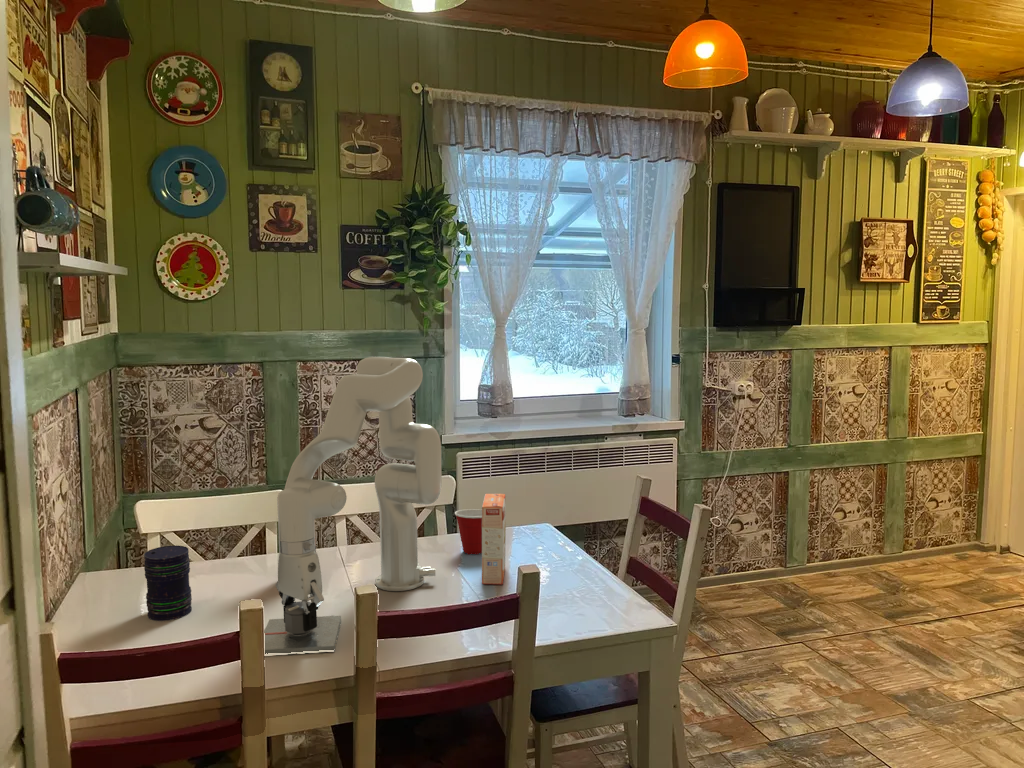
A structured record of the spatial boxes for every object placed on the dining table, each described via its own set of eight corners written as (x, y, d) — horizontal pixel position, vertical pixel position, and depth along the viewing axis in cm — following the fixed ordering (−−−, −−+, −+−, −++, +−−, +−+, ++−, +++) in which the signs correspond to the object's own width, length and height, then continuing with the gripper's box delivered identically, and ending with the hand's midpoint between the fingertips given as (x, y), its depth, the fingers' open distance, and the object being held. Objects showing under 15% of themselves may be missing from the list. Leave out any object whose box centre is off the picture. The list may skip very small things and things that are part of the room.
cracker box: (504, 585, 205) (503, 506, 203) (481, 585, 205) (480, 506, 203) (506, 566, 219) (506, 492, 217) (484, 566, 219) (484, 492, 217)
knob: (303, 619, 178) (302, 597, 177) (320, 626, 174) (319, 604, 174) (280, 628, 173) (279, 606, 173) (297, 636, 170) (296, 613, 169)
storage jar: (196, 603, 194) (193, 544, 193) (187, 619, 185) (183, 557, 183) (153, 606, 193) (149, 546, 191) (141, 622, 183) (137, 560, 182)
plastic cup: (497, 547, 235) (497, 508, 234) (483, 559, 225) (483, 518, 224) (464, 544, 239) (463, 505, 238) (448, 555, 229) (448, 514, 228)
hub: (341, 621, 183) (340, 600, 182) (334, 652, 167) (333, 629, 167) (269, 625, 181) (268, 604, 180) (255, 657, 165) (254, 634, 165)
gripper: (336, 548, 169) (339, 629, 171) (287, 534, 180) (290, 610, 182) (308, 557, 163) (311, 641, 166) (258, 542, 174) (262, 621, 176)
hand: (300, 624), depth 174 cm, fingers closed on knob, 6 cm apart
